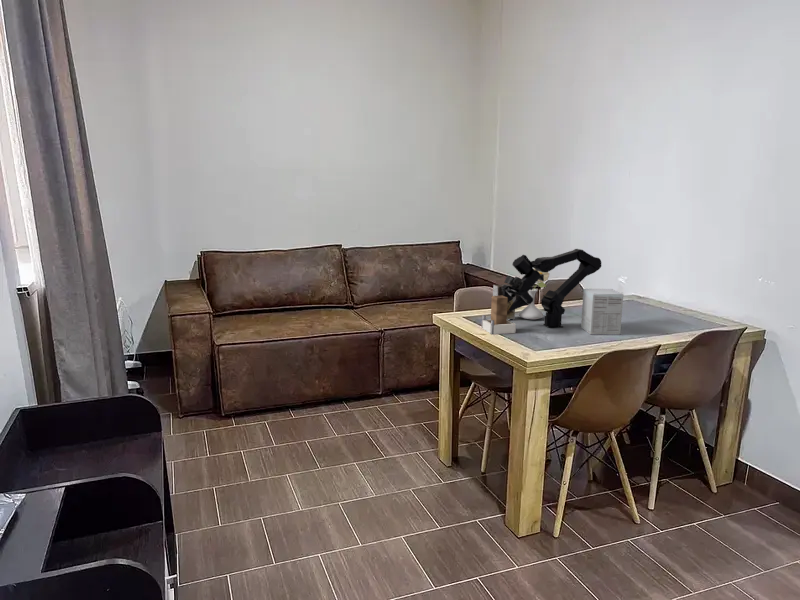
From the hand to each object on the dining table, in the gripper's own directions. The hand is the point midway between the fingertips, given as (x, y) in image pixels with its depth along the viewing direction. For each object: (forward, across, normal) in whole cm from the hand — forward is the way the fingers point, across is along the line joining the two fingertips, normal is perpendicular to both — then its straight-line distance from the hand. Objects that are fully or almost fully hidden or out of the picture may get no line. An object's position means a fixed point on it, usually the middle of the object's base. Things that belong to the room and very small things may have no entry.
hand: (504, 308), depth 258 cm
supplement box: (-20, +13, +36) cm, 43 cm away
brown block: (+8, 0, +4) cm, 9 cm away
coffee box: (0, -19, +14) cm, 24 cm away
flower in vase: (-10, -16, +24) cm, 30 cm away
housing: (+8, 0, +5) cm, 10 cm away
